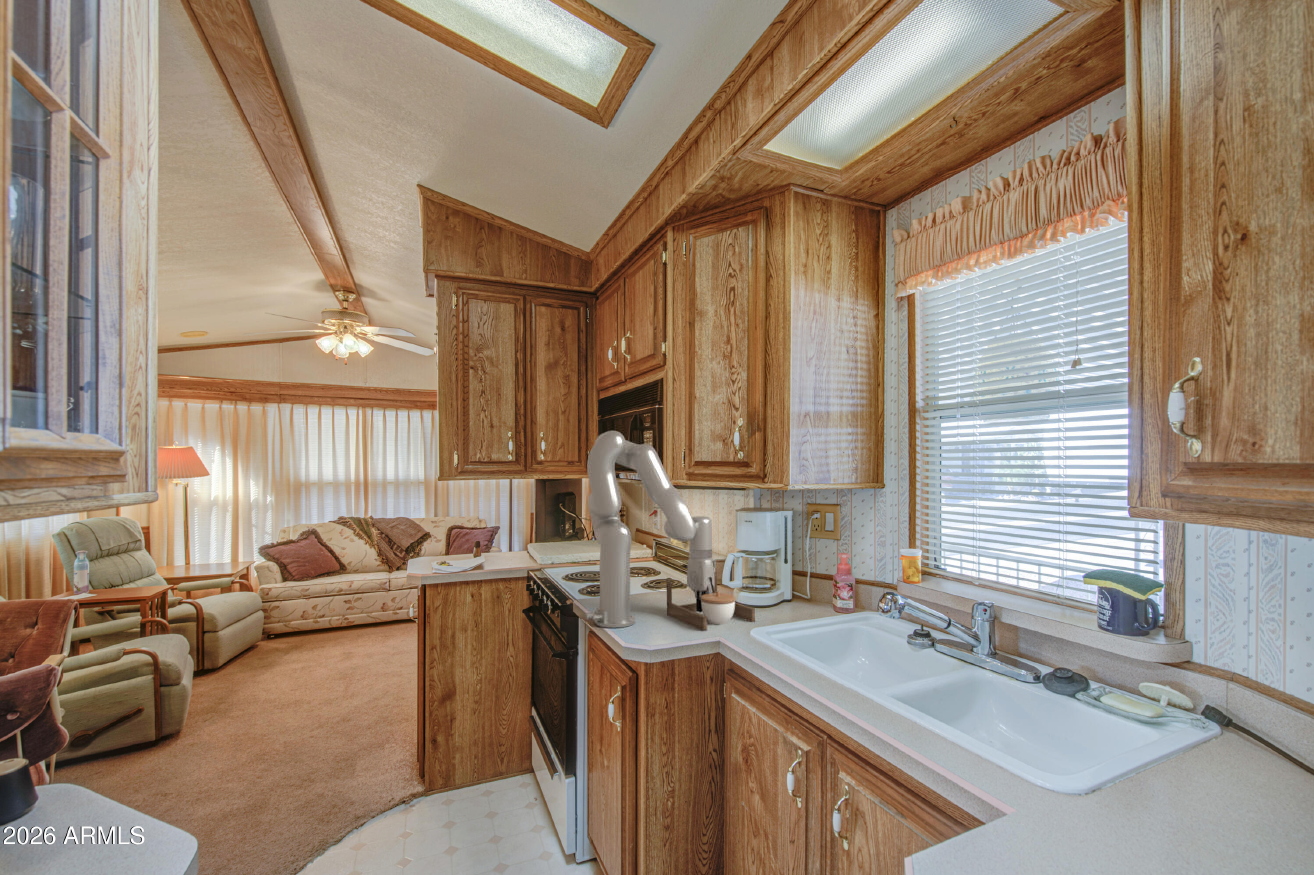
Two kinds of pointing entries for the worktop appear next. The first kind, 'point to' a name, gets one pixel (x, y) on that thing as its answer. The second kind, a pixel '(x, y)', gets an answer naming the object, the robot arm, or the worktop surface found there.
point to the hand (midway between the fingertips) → (701, 610)
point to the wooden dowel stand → (697, 620)
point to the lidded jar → (718, 607)
